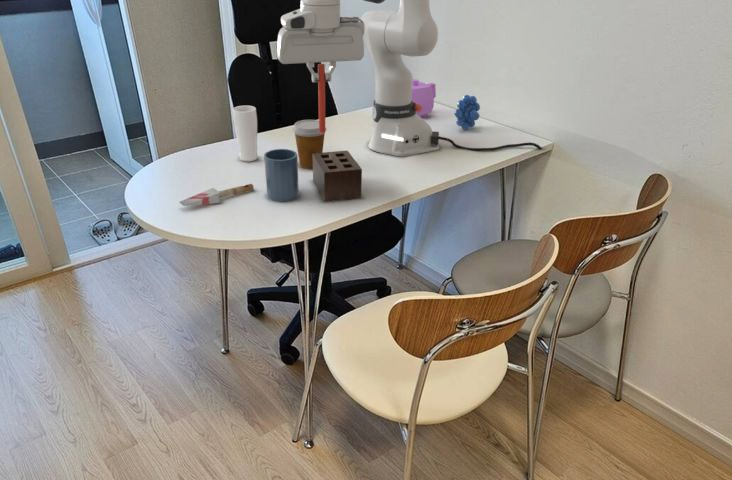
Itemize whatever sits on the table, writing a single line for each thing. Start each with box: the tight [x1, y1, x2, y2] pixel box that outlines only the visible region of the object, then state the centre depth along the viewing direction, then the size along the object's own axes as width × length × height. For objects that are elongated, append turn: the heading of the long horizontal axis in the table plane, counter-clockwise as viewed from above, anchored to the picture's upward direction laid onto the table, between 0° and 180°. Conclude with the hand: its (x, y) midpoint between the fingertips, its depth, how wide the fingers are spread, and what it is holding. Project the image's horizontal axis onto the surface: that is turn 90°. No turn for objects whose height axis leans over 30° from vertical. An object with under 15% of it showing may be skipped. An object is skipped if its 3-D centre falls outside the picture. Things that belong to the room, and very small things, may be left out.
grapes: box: [454, 94, 481, 131], centre depth 188 cm, size 12×7×12 cm, turn 126°
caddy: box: [312, 150, 363, 203], centre depth 147 cm, size 10×14×8 cm
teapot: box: [411, 78, 437, 118], centre depth 201 cm, size 20×12×13 cm, turn 122°
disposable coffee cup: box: [292, 119, 327, 170], centre depth 160 cm, size 10×10×12 cm
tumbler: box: [263, 148, 300, 203], centre depth 143 cm, size 8×8×11 cm
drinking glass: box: [232, 105, 259, 162], centre depth 163 cm, size 7×7×15 cm
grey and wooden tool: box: [178, 183, 255, 207], centre depth 142 cm, size 4×3×20 cm
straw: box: [317, 63, 326, 133], centre depth 135 cm, size 2×2×16 cm
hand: (321, 81), depth 132 cm, fingers closed on straw, 1 cm apart
